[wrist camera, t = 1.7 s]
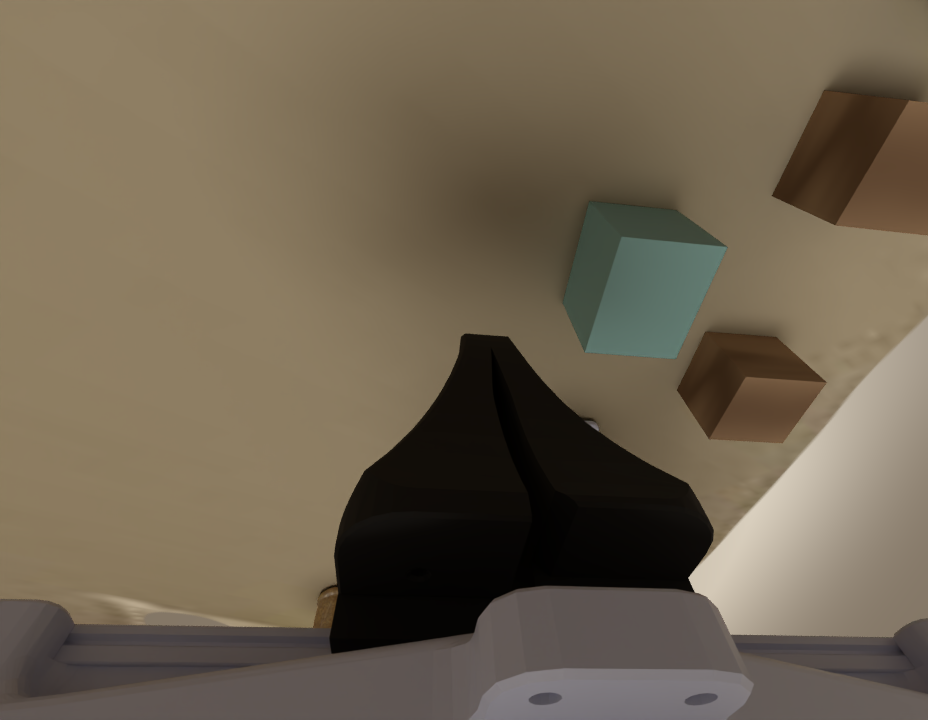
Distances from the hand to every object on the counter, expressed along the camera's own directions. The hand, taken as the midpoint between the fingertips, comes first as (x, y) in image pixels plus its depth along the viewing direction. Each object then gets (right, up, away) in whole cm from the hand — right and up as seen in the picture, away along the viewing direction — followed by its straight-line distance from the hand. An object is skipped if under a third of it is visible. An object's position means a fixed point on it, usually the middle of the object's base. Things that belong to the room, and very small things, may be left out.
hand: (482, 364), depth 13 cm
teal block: (+7, +5, +8) cm, 12 cm away
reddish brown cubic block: (+14, 0, +12) cm, 19 cm away
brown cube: (+15, +9, +6) cm, 19 cm away
